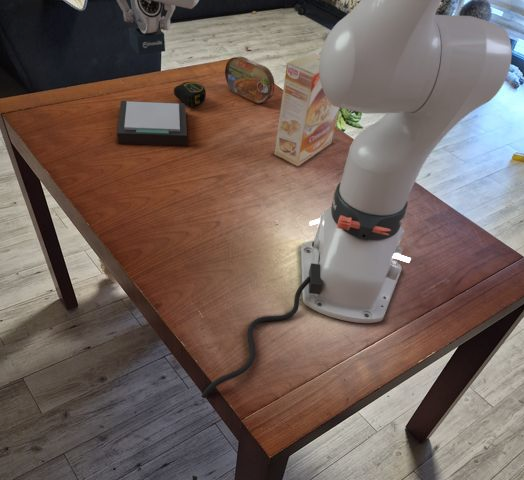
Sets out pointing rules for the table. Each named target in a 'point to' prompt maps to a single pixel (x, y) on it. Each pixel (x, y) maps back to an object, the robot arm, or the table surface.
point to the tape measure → (190, 93)
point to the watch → (146, 27)
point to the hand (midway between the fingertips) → (147, 25)
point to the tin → (249, 79)
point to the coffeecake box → (304, 112)
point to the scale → (152, 123)
